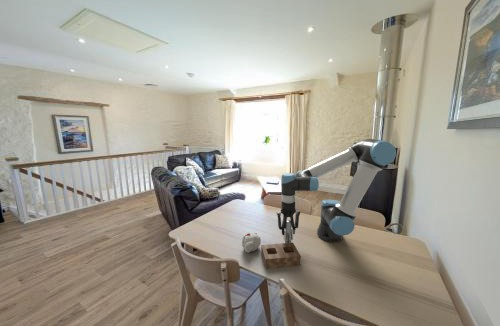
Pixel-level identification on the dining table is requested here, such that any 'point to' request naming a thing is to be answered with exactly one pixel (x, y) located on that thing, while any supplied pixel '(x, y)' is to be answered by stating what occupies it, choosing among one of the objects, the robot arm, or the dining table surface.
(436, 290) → the dining table surface
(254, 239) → the white lumpy figurine
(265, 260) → the bore block
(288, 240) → the pin
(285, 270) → the dining table surface
